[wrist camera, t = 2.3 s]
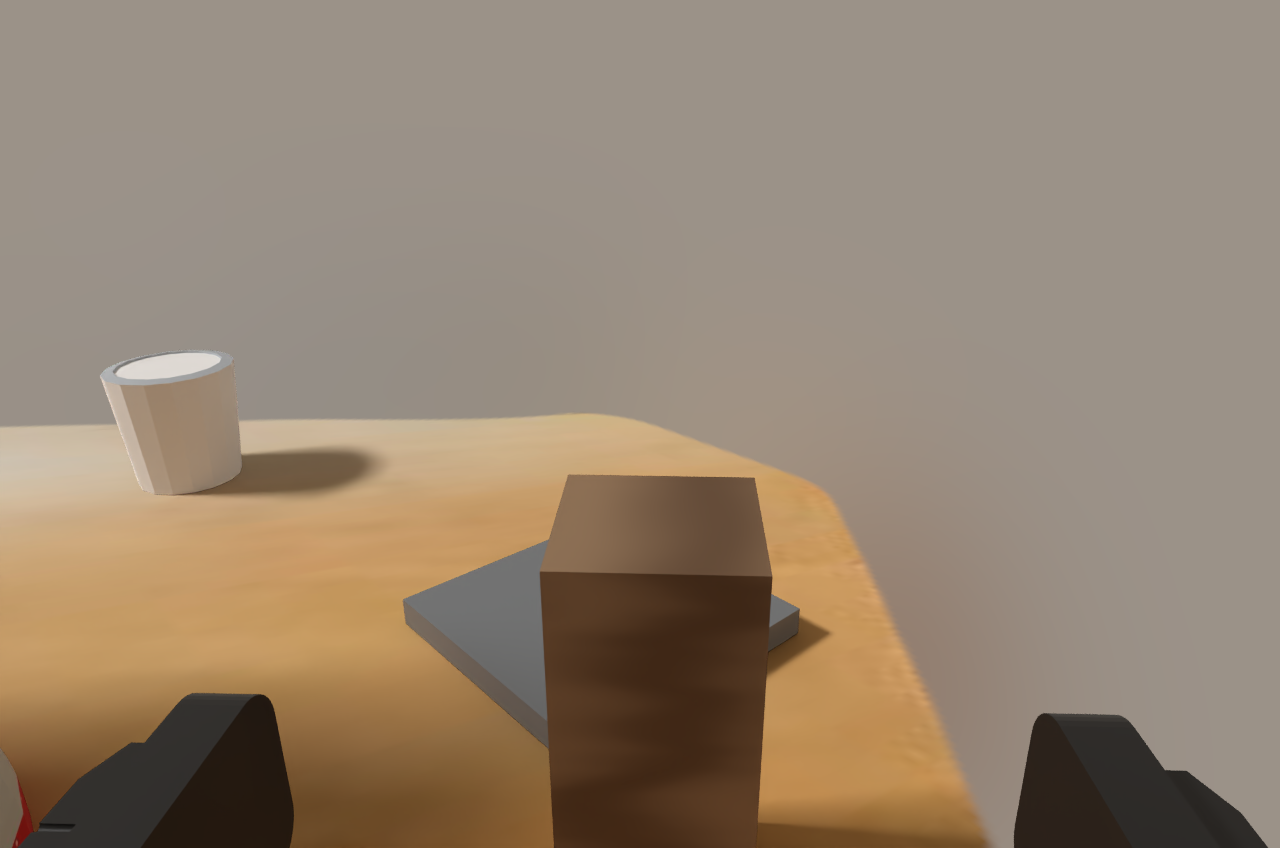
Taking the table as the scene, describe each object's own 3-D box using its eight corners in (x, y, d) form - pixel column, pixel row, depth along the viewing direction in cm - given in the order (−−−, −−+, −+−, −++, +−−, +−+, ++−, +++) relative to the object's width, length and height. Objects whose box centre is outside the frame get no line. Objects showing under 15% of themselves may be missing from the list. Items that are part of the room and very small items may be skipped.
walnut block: (560, 962, 23) (539, 571, 19) (581, 815, 28) (568, 474, 23) (748, 970, 23) (772, 576, 18) (737, 820, 27) (754, 477, 23)
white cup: (158, 511, 48) (131, 391, 45) (107, 478, 52) (79, 367, 49) (274, 471, 53) (255, 361, 50) (219, 444, 57) (199, 341, 54)
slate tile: (405, 623, 37) (402, 599, 37) (614, 533, 45) (614, 512, 45) (577, 773, 29) (576, 745, 29) (797, 632, 37) (799, 608, 36)
